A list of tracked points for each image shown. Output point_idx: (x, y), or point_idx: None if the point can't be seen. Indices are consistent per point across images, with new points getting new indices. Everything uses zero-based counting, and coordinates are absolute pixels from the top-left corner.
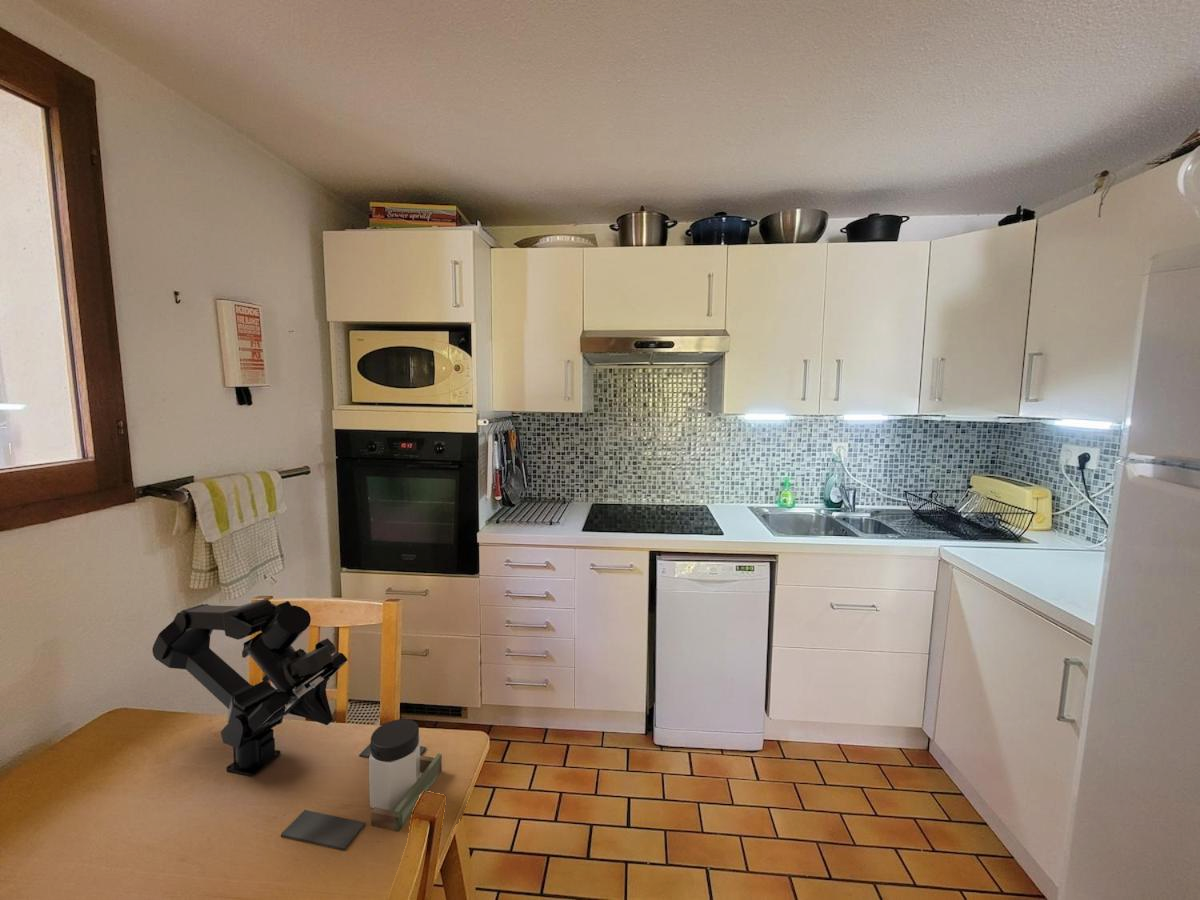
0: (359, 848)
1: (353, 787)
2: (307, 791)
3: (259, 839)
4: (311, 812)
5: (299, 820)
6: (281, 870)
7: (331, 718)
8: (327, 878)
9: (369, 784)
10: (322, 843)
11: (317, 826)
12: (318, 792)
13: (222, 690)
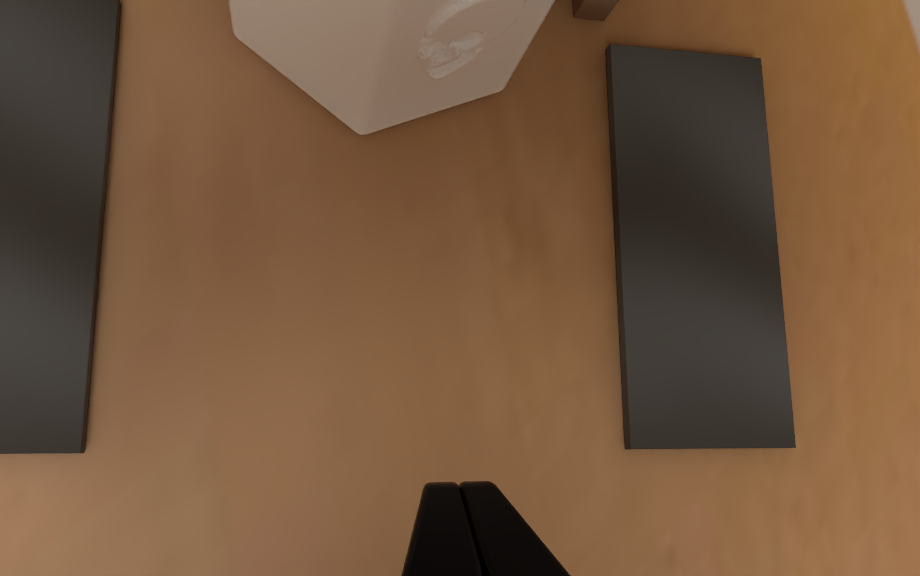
0: (723, 5)
1: (385, 286)
2: None
3: (832, 551)
4: (636, 390)
5: (696, 418)
6: (913, 285)
7: (444, 499)
8: (875, 56)
9: (544, 17)
10: (770, 183)
11: (700, 283)
12: None
13: None
